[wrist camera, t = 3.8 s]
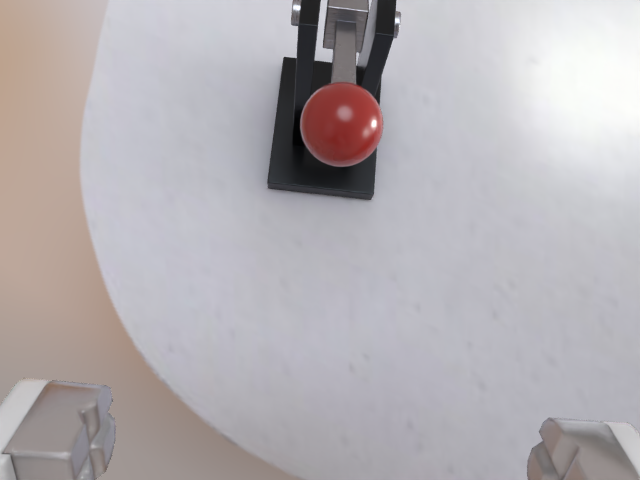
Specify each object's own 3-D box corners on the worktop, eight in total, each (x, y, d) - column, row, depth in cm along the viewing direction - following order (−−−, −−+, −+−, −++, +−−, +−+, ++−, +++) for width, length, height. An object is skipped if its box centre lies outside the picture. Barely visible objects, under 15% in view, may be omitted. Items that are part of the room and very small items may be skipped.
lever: (375, 188, 23) (392, 119, 20) (294, 178, 23) (300, 108, 20) (371, 40, 32) (382, -21, 29) (312, 33, 32) (318, -29, 29)
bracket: (371, 200, 41) (420, 94, 26) (267, 188, 40) (261, 75, 26) (379, 77, 44) (427, -76, 30) (283, 65, 43) (285, -95, 29)
